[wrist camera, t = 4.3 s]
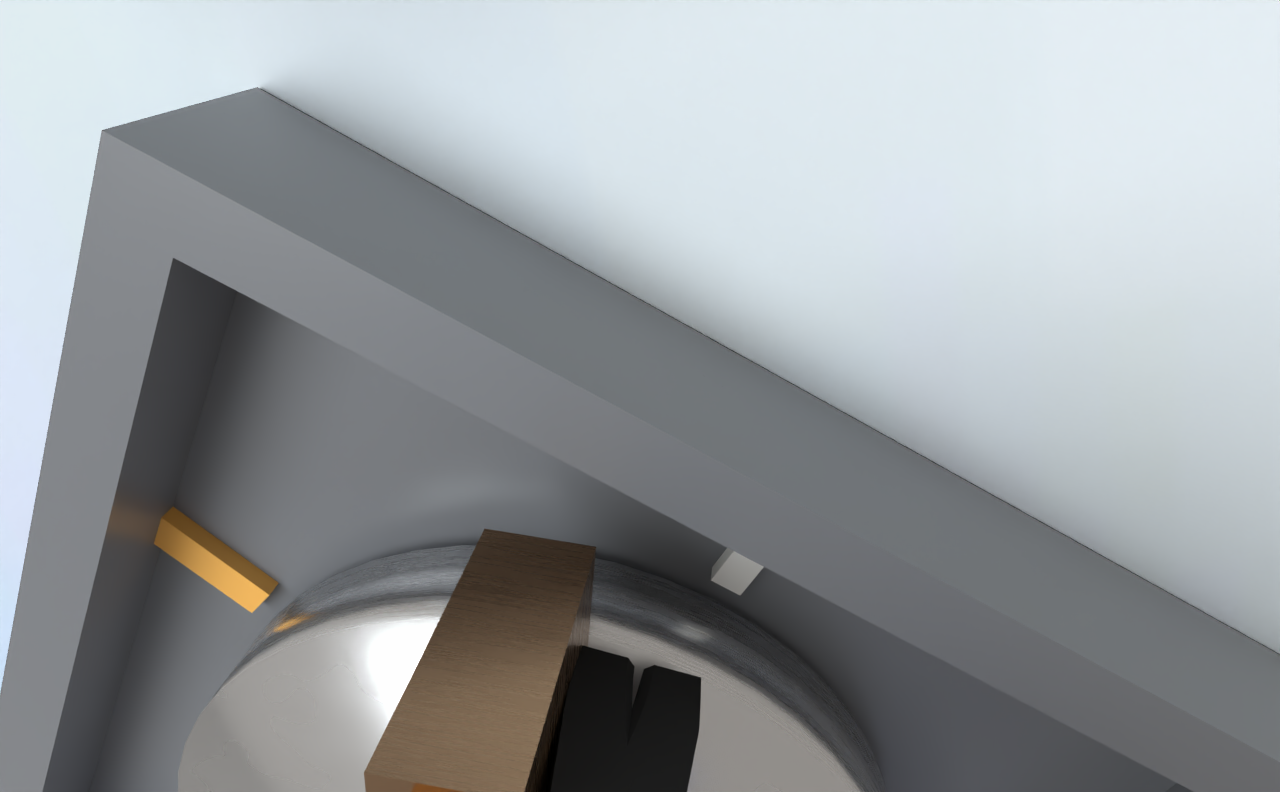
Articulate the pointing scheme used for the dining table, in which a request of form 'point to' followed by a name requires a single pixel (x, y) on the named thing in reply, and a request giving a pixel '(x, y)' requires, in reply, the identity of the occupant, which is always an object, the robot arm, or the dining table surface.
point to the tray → (528, 485)
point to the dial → (504, 680)
